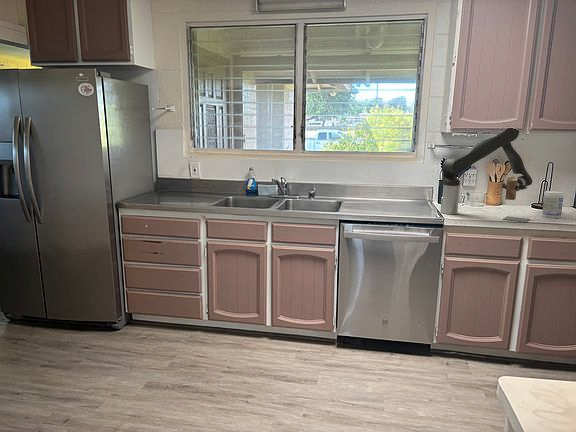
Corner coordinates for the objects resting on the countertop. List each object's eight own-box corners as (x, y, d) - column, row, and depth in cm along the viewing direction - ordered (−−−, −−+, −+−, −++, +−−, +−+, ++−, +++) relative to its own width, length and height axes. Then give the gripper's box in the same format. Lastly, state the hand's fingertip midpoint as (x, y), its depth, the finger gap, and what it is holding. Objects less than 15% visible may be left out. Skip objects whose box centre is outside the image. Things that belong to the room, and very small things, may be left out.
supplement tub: (561, 219, 237) (564, 193, 234) (542, 217, 242) (545, 192, 239) (560, 216, 246) (563, 191, 243) (541, 214, 250) (544, 190, 247)
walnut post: (505, 199, 239) (507, 176, 236) (506, 198, 243) (509, 176, 240) (513, 200, 236) (516, 177, 234) (515, 199, 240) (517, 176, 237)
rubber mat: (502, 219, 236) (502, 219, 236) (507, 216, 244) (507, 216, 244) (526, 222, 228) (526, 221, 228) (530, 219, 237) (530, 218, 236)
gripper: (504, 177, 252) (497, 180, 239) (531, 178, 244) (525, 182, 231) (503, 189, 254) (496, 193, 241) (529, 191, 245) (524, 195, 232)
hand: (510, 187), depth 236 cm, fingers closed on walnut post, 4 cm apart
